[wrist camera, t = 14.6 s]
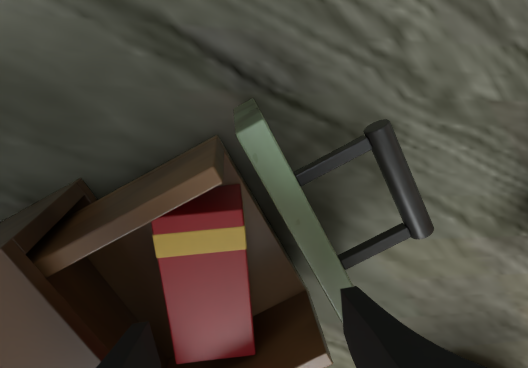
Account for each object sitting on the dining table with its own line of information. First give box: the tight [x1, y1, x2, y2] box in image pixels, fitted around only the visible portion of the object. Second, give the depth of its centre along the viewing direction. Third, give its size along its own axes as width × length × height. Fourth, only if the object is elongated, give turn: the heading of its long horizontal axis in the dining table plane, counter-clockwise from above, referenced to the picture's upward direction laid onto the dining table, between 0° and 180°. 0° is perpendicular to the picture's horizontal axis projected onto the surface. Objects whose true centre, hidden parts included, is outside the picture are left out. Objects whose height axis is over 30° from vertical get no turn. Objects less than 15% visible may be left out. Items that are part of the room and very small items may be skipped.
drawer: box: [25, 99, 434, 368], centre depth 19 cm, size 17×12×6 cm
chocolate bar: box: [151, 184, 256, 364], centre depth 20 cm, size 8×4×3 cm, turn 4°
